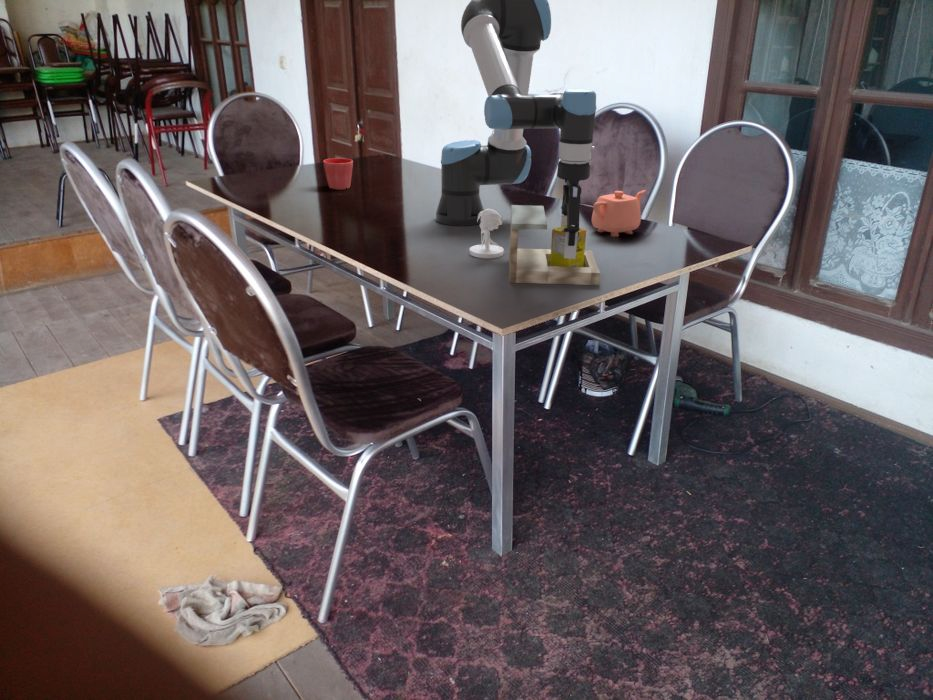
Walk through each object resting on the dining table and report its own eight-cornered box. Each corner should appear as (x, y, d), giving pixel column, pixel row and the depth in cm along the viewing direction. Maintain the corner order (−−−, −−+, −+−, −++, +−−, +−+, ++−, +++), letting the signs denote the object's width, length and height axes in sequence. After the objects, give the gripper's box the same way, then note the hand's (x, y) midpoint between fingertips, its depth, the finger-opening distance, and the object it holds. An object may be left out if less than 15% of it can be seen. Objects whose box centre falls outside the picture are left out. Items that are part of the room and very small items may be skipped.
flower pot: (360, 186, 261) (359, 159, 256) (340, 191, 252) (338, 164, 248) (339, 183, 266) (337, 156, 262) (318, 188, 257) (316, 161, 253)
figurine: (468, 248, 191) (468, 204, 186) (501, 248, 191) (502, 204, 186) (471, 258, 182) (471, 213, 177) (505, 258, 183) (507, 212, 178)
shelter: (509, 282, 166) (511, 223, 160) (509, 259, 182) (511, 205, 176) (598, 285, 165) (604, 225, 159) (590, 261, 181) (595, 207, 175)
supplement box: (583, 273, 173) (587, 229, 168) (567, 278, 169) (570, 233, 165) (565, 267, 177) (568, 224, 172) (549, 271, 173) (551, 228, 169)
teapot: (606, 241, 199) (610, 199, 193) (577, 231, 207) (581, 191, 202) (655, 231, 209) (660, 191, 204) (626, 222, 218) (630, 183, 212)
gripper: (597, 172, 151) (588, 266, 160) (585, 151, 173) (578, 235, 182) (562, 171, 151) (555, 265, 160) (554, 150, 173) (549, 234, 183)
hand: (567, 249), depth 171 cm, fingers open, 13 cm apart
